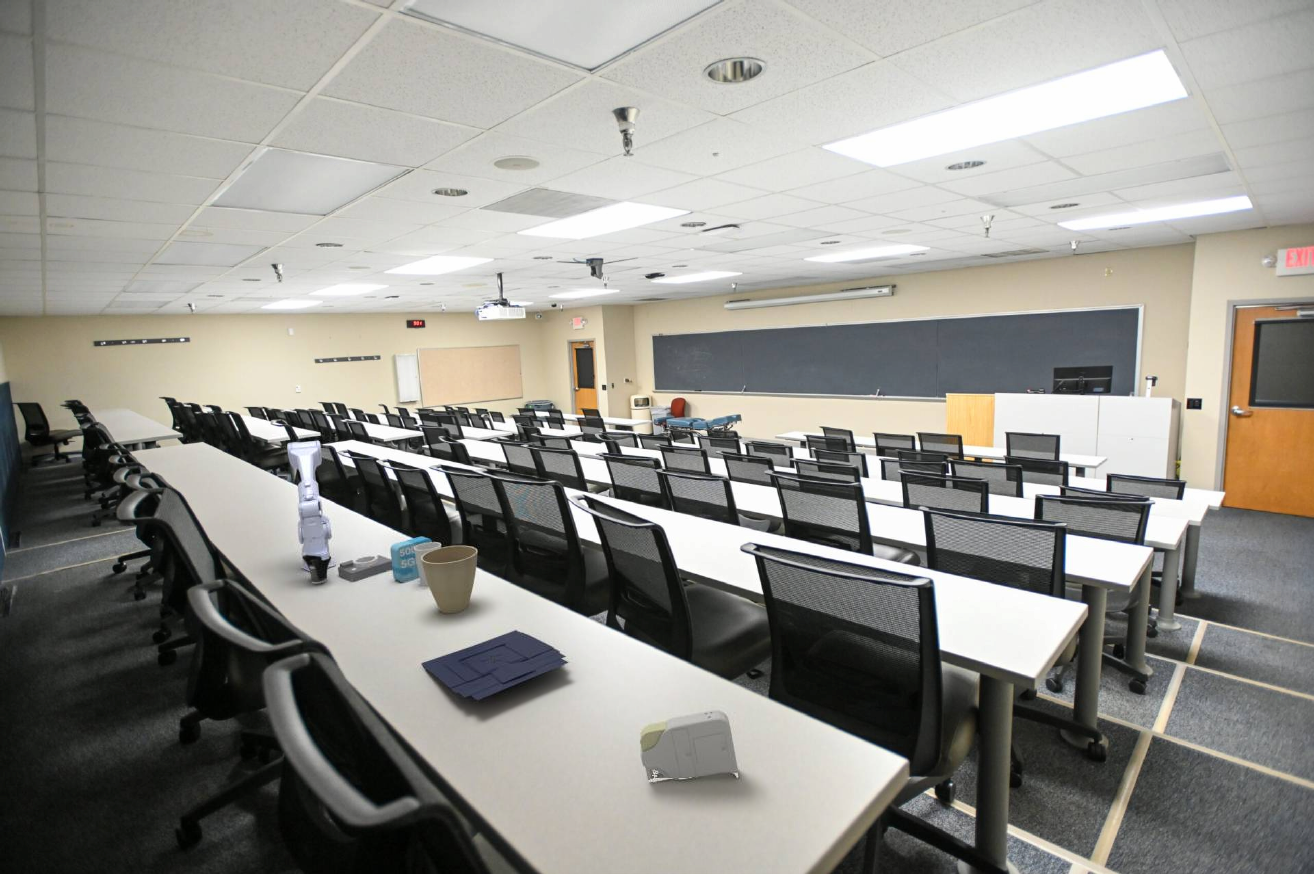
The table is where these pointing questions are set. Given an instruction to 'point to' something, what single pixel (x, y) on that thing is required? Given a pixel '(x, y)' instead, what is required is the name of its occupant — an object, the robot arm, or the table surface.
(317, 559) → the robot arm
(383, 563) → the camera body
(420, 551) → the cup
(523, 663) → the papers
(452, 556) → the plant pot
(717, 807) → the table surface
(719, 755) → the toy camper
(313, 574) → the lens
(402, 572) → the data package
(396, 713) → the table surface
